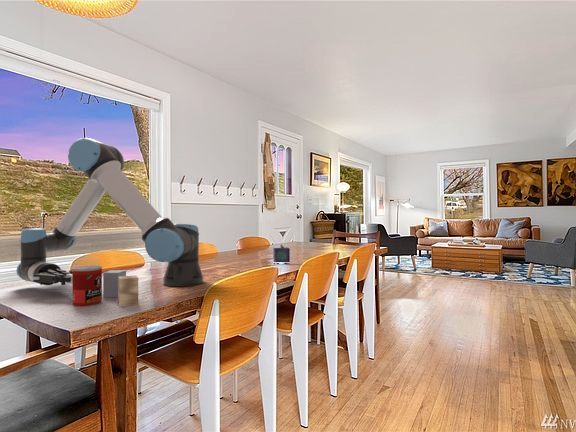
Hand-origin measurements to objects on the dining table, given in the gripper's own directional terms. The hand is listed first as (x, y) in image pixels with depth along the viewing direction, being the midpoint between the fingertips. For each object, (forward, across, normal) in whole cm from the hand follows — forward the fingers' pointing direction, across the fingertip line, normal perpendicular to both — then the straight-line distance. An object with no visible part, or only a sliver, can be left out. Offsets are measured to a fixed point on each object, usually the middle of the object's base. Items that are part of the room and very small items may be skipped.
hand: (78, 280), depth 107 cm
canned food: (+5, 0, -7) cm, 8 cm away
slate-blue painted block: (+2, -10, -6) cm, 13 cm away
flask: (+7, -103, -7) cm, 104 cm away
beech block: (+16, -7, -6) cm, 19 cm away
